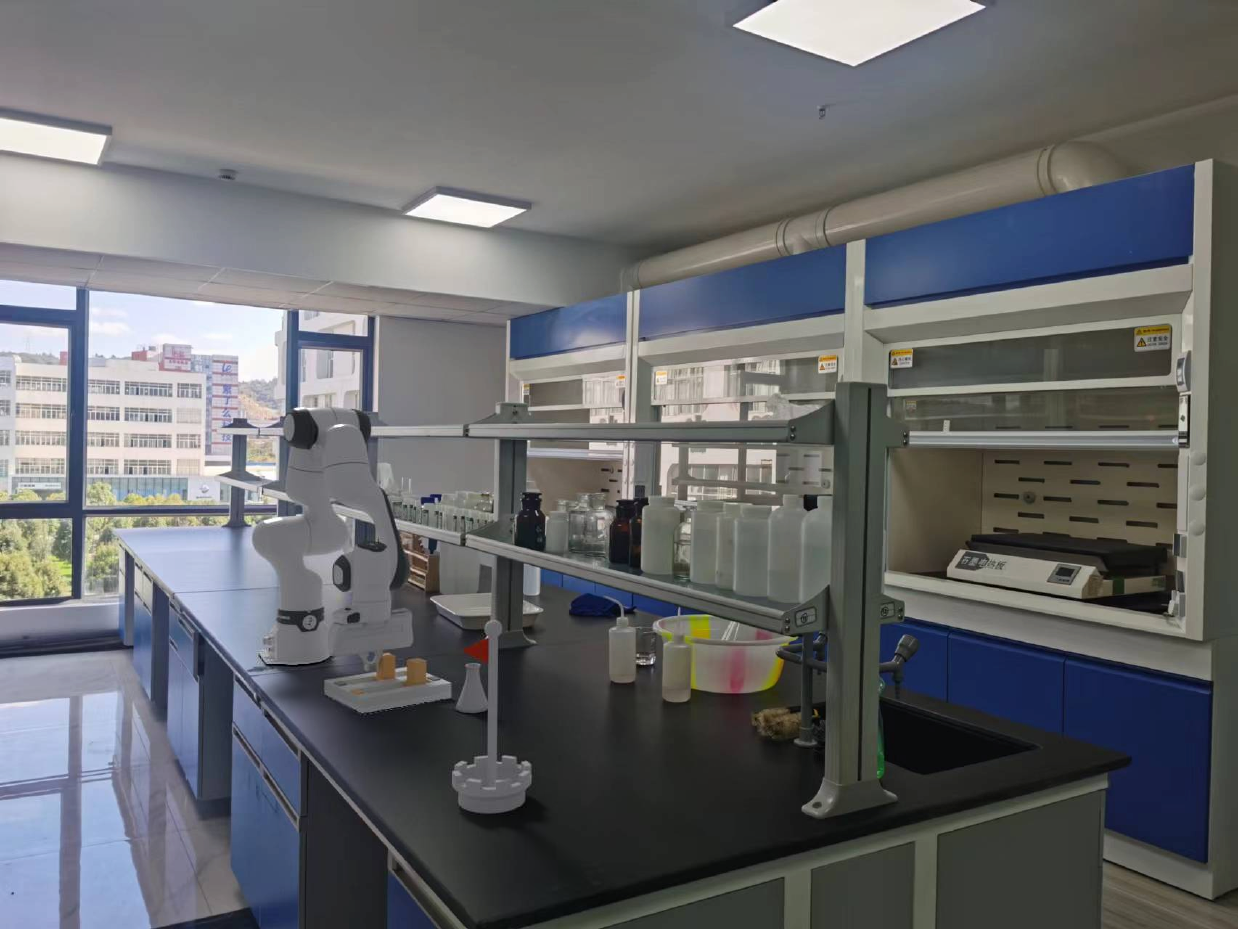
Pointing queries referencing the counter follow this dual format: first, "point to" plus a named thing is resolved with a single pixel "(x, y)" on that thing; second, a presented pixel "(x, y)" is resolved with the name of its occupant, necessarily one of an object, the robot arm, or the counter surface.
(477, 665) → the flask
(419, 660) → the tab
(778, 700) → the counter surface
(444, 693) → the switch box
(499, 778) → the flag stand
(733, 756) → the counter surface
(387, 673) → the tab
